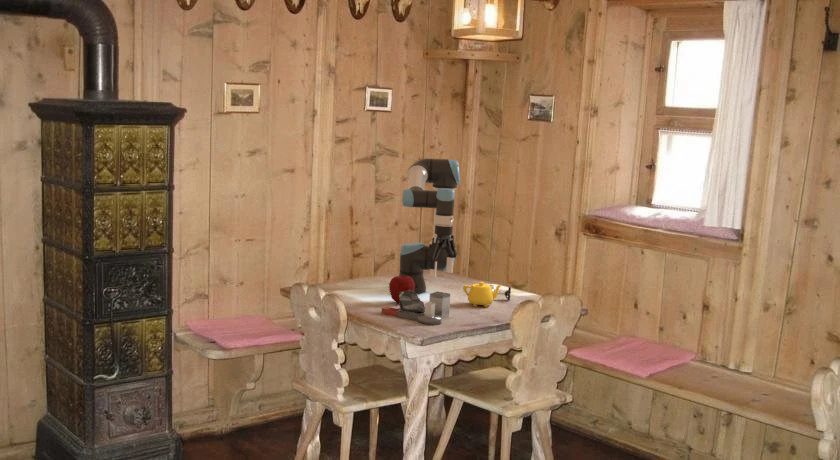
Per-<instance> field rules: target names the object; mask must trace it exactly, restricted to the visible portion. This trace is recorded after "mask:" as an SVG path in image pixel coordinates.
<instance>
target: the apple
mask: <svg viewBox="0 0 840 460" xmlns="http://www.w3.org/2000/svg"><path fill="white" fill-rule="evenodd" d="M388 285H389V286H388V287H389V288H388V289H389V294H390V296H391V299H392V300H393V301H394V302H395V303H397V304H398V305H400V300H399V293H400V292H405V291H408V290H411V291H414V288H415V282H414V280H413V279H412V278H411V277H410V276H399V275H397V276H394V277H393V278H391V279H390V282H389V284H388Z"/></svg>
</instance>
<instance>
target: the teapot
mask: <svg viewBox="0 0 840 460" xmlns="http://www.w3.org/2000/svg"><path fill="white" fill-rule="evenodd" d="M490 285H491V284H488V283H487V284H486V283H485V282H484V281H479V282H478V283H472V285H467V284H465V285H463V286H462V290H463V291H464V293H465V294H466V295H467V300H468V302H469V304H471V305H472V307H474V306H478V305H479V306H483V308H489V306H491V305H492V303H494V300H495V299H496V298H497V296H499V294H498V291H499V290H500V288H501V287H502V286H503V284H498V285H497V286H496V287H495V289H494V290H495V292H494V293H493V292H492V289H491V286H490ZM468 288H469V290H468Z"/></svg>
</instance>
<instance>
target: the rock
mask: <svg viewBox="0 0 840 460" xmlns="http://www.w3.org/2000/svg"><path fill="white" fill-rule="evenodd" d="M399 300H400V304H399V309H401V310H403V311H408V312H413V313H420V314H424V313H425V303H424V302H423V301H422V300H421V299H420V297H419V295H418V293H416V292H415V291H411V290H408V291H405V292H400V293H399Z"/></svg>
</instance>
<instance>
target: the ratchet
mask: <svg viewBox="0 0 840 460" xmlns="http://www.w3.org/2000/svg"><path fill="white" fill-rule="evenodd" d="M424 306H425V312H424V313H419V312H408V311H403V310H401V309H400V308H396V307H391V306H385V307H384V306H383V307H382V308H381V312H380V313H381V314H380V315H386V316H391V317H396V318H401V319H407V320H412V321H416V323H418V324H419V325H423V326H437V325H438V326H439V325H441V324H442V320H443V319H442V317H441V316H440V315H437V314H435V303H431V302H429V301H428V302H425V303H424Z"/></svg>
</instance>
